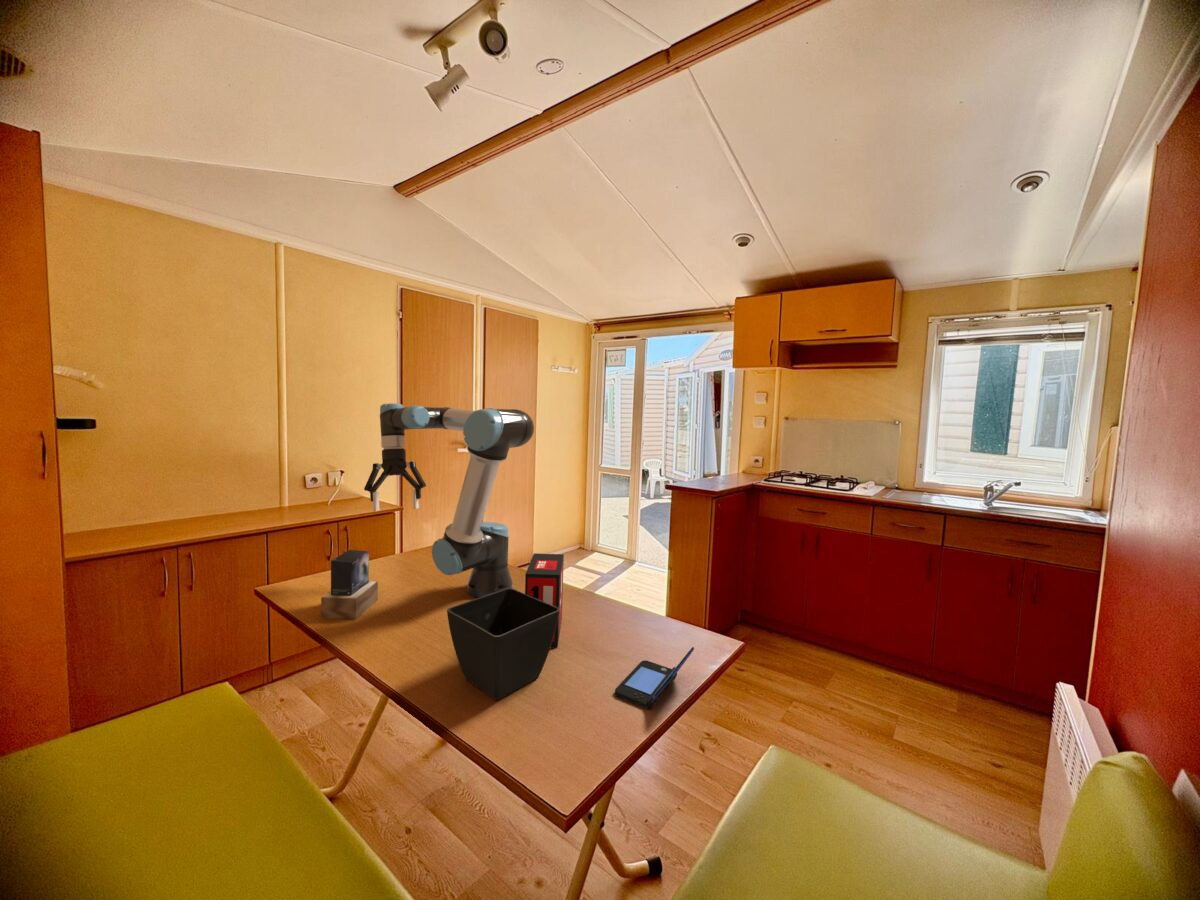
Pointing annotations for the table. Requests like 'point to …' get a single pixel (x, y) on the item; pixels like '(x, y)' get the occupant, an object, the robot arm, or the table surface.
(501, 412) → the robot arm
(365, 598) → the base
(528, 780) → the table surface
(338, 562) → the small box
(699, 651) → the table surface
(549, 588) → the cleaning product box
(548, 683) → the table surface
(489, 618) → the flower pot
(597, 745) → the table surface
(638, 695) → the black walkie-talkie
